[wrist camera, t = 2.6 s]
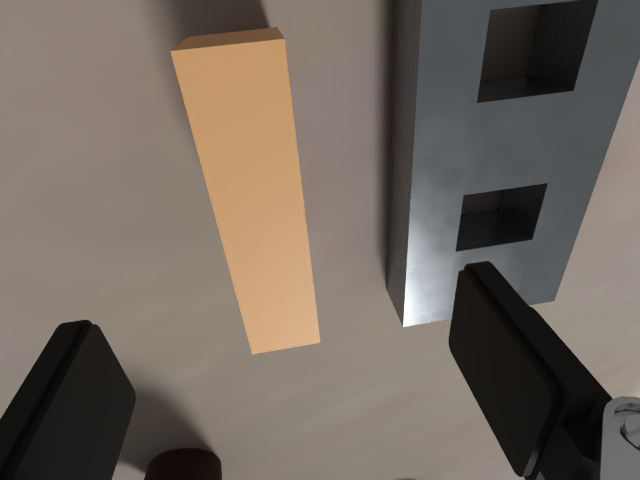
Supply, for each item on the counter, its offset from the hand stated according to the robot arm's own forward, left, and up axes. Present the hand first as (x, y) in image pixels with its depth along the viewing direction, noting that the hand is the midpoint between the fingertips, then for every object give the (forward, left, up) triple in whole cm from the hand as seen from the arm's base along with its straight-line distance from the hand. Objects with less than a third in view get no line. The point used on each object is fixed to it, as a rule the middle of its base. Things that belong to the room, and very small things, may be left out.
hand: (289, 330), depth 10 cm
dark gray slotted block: (0, +11, -12) cm, 17 cm away
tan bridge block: (0, 0, -12) cm, 12 cm away
